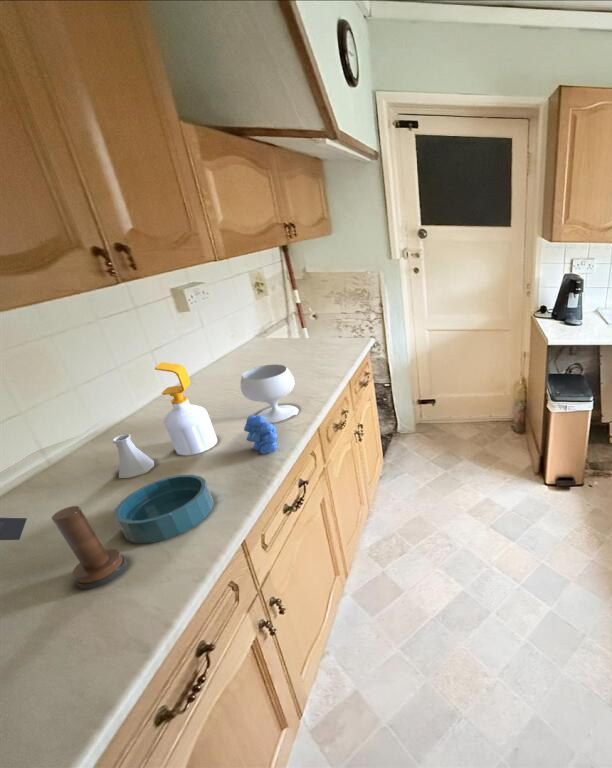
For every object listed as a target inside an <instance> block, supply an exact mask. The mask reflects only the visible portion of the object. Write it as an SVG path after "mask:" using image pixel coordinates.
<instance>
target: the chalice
mask: <svg viewBox="0 0 612 768" xmlns="http://www.w3.org/2000/svg"><path fill="white" fill-rule="evenodd" d="M295 385H296V381H295V378H294V375H293V374H292V372H291V371H290V369H289V368H288V367H287V366H285V365H284V364H283V365H282V364H266V365H259V366H256V367H253V368H250V369H248V370H246V371H245V372H243V373H242V375H241V378H240V391H241V393H242V395H243V396H244V397H245V398H246V399H247V400H250V401H253V402H258V403H266V404H268V405H269V406H270V407H268V408H266V409H264V410H262V411H260V412H258V414H257V415H260V416H263V417H265V418H266V420H265V422H269V423H276V422H281V421H284V420H286V419H289V418H290V417H292V416H297V415H298V414H299V410H300V409H299V408H298V407H297V406H294V405H289V404H288V405H287V404H285V405H284V404H283V405H279V401H280V400H281V399H283V398H284V397H286V396H288V395H289V394H290V393H291V392H292V391H293V390H294V388H295Z"/></svg>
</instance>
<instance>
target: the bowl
mask: <svg viewBox="0 0 612 768" xmlns="http://www.w3.org/2000/svg"><path fill="white" fill-rule="evenodd" d="M214 503H215V502H214V498H213V496H212V492H211V490H210V488H209V486H208V483H207V481H206V479H205V478H203V477H202V476H200V475H196V474H179V475H173V476H169V477H165V478H161V479H157V480H155V481H153V482H150V483H148V484H146V485H144V486H142V487H140V488H138V489H137V490H135V491H133V492H131V493H130V494H128V496H126V497H125V498H123V499H122V500H121V501H120V502H119V504H118V505H117V506H116V508H115V509H114V515H113V517H114V519H115V521H116V522H117V524H118V527H119V528H120V530H121V531H122V534H123V535H124V537H125V538H126V539H127V541H129V542H132V543H135V544H153V543H157V542H161V541H166V540H169V539H171V538H174V537H178V536H179V535H181V534H184V533H185V532H186V531H189V530H190V529H192V528H194V527H195V526H196V525H198V524H199V523H201V522H202V521H203V520H204V519H205V518H206V517H207V516H208V515H209V514H210V512H211V511H212V509H213V507H214V505H215V504H214Z"/></svg>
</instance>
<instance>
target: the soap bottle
mask: <svg viewBox="0 0 612 768" xmlns="http://www.w3.org/2000/svg"><path fill="white" fill-rule="evenodd" d="M154 370H156V371H162V372H168V373H169V372H170V373H173V374H175V375H176V377H177V378H178V381H179V384H180V385H174V386H168V387H166V388H165V389H164V390H163V391H162V392H161V395H163V396H165V395H167V396H168V395H169V396H170V397H173V398H172V399H171V400H170V403H171V405H172V409H171V410H170V411H168V413H167V414H165V416H164V418H163V424H164V427H165V429H166V432H167V434H168V436H169V438H170V441H171V444H172V446H173V448H174V451H175V453H176V454H177V455H180V456H191V455H196V454H201V453H203V452H205V451H208V450H210V449H211V448H213V447H214V446H215V445H216V444H217V443H218V438H217V434H216V432H215V429H214V427H213V424H212V422H211V418H210V416H209V413H208V411H207V410H206V408H204V406H200V405H196V404H190V401H189V399H188V397H187V396H183V394H184V392H185V391H186V389H188V388H189V386H191V380H190V377H189V374H188V371H187V369H186V368H185V366H183V364H178V363H172V362H171V363H170V362H165V361H163V362H162V361H161V362H160V363H158V364H157V365H156V366H154Z"/></svg>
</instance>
